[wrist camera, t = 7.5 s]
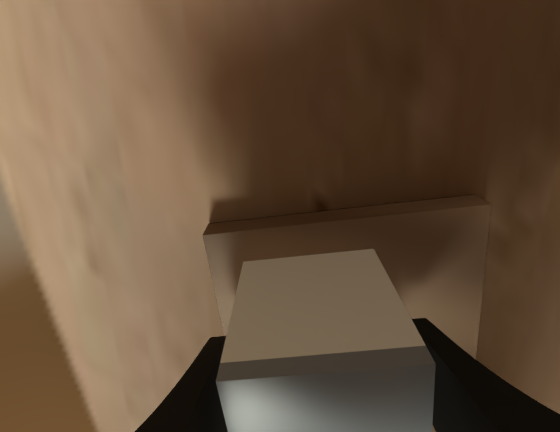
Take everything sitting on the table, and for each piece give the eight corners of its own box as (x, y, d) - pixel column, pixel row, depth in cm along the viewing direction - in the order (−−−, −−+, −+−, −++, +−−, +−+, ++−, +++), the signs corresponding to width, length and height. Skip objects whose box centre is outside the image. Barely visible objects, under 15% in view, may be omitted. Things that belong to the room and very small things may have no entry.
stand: (453, 461, 20) (505, 578, 15) (261, 474, 20) (254, 591, 16) (475, 194, 14) (570, 249, 9) (208, 223, 15) (173, 289, 10)
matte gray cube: (376, 352, 16) (428, 505, 10) (261, 362, 16) (248, 516, 10) (373, 248, 14) (435, 363, 8) (243, 261, 14) (215, 381, 8)
